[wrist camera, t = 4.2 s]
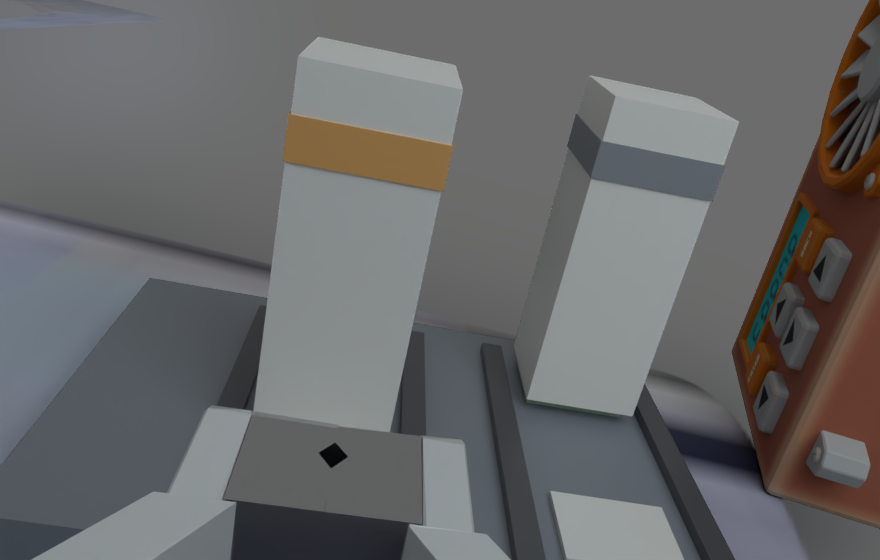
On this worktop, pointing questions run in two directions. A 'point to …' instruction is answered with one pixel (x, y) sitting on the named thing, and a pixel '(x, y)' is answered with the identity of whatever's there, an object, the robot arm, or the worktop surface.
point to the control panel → (824, 310)
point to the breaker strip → (447, 368)
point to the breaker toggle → (353, 230)
